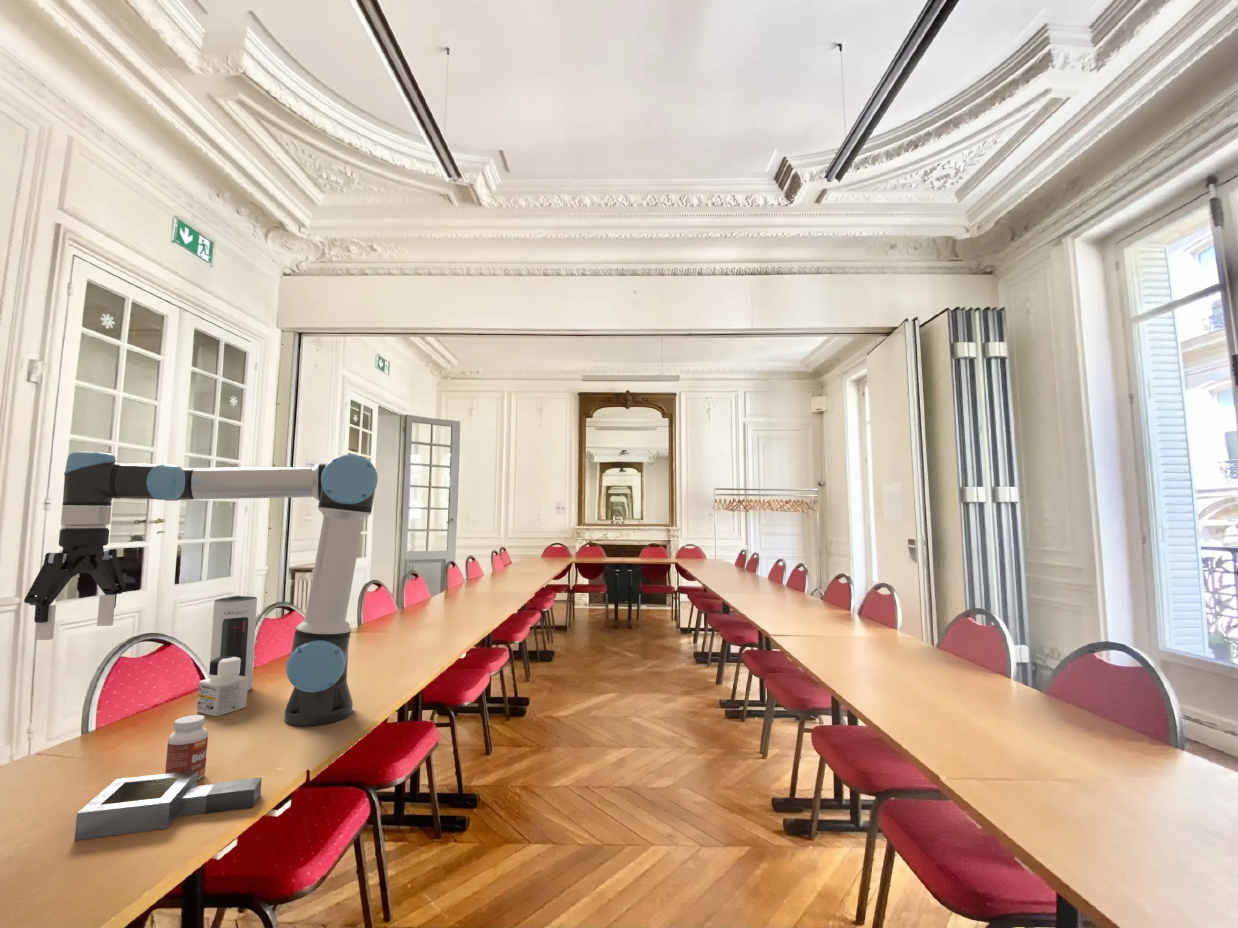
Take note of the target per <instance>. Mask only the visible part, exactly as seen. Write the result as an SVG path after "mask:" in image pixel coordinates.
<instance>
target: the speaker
mask: <svg viewBox="0 0 1238 928" xmlns="http://www.w3.org/2000/svg"><path fill="white" fill-rule="evenodd" d="M257 605H258V597H257V596H246V595H245V596H243V595H234V596H227V597H222V598H218V599H214V600H213V612H212V613H213V614H212V625H211V626H212V628H211V642H210V643H211V644H210V657H209V659H210V660H209V663H210V662H211V661H212V660H214V659H216V658H218V657H224V656H236V657H239V658H240V659H241V663H240V674H239V676H245V677H248V690H247V692H249V691H250V690H251V689H253V676H254V674H253V672H254V658H255V656H254V655H255V642H256V623H257V622H256V621H257V608H258V607H257ZM208 670H210V668H209V669H208Z"/></svg>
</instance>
